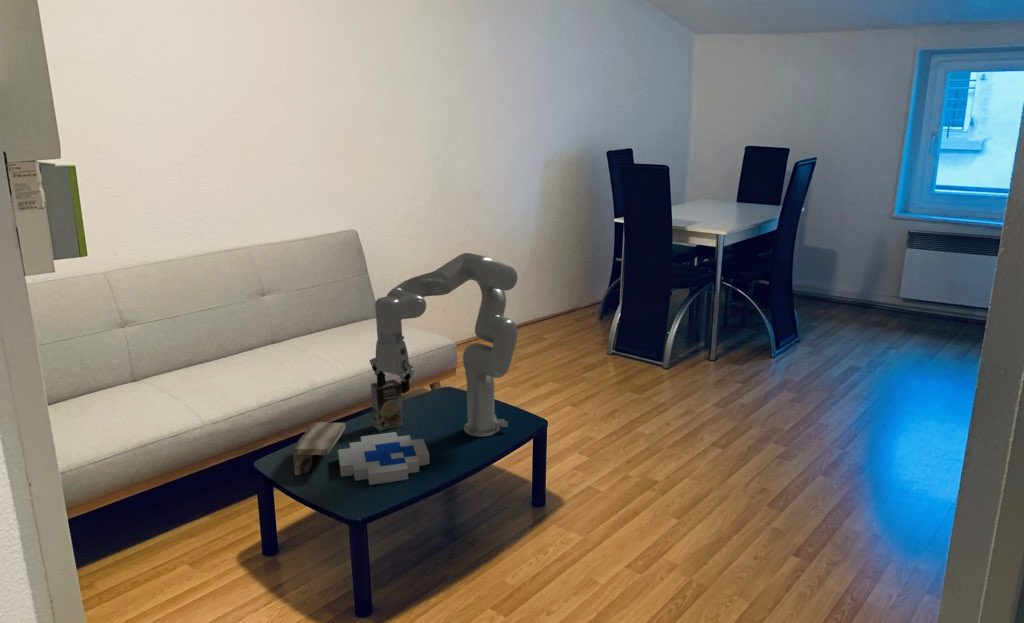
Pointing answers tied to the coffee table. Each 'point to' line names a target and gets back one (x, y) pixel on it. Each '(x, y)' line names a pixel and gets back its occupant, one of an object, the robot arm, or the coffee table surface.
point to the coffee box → (387, 405)
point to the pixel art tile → (383, 458)
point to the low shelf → (315, 444)
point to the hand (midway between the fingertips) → (393, 389)
